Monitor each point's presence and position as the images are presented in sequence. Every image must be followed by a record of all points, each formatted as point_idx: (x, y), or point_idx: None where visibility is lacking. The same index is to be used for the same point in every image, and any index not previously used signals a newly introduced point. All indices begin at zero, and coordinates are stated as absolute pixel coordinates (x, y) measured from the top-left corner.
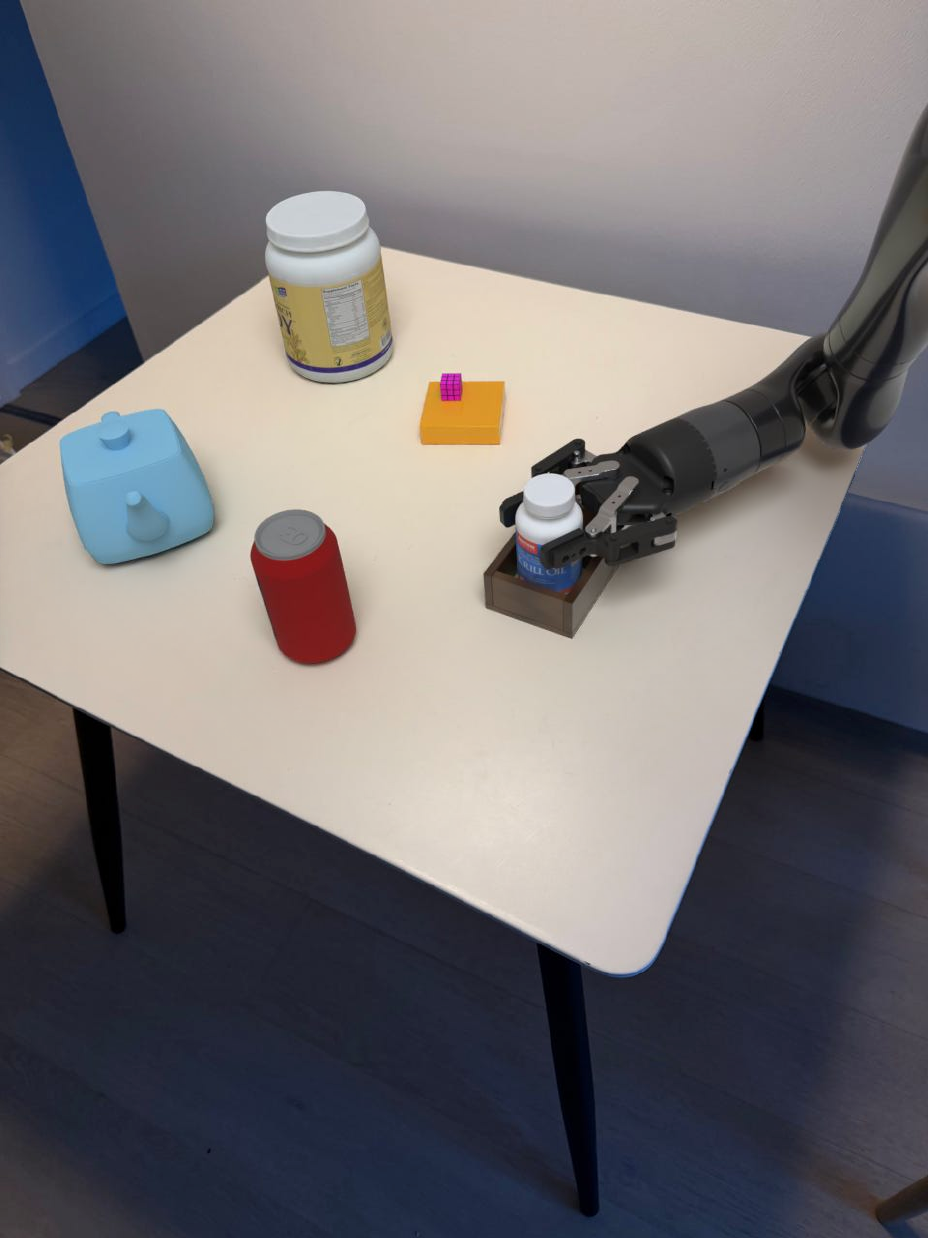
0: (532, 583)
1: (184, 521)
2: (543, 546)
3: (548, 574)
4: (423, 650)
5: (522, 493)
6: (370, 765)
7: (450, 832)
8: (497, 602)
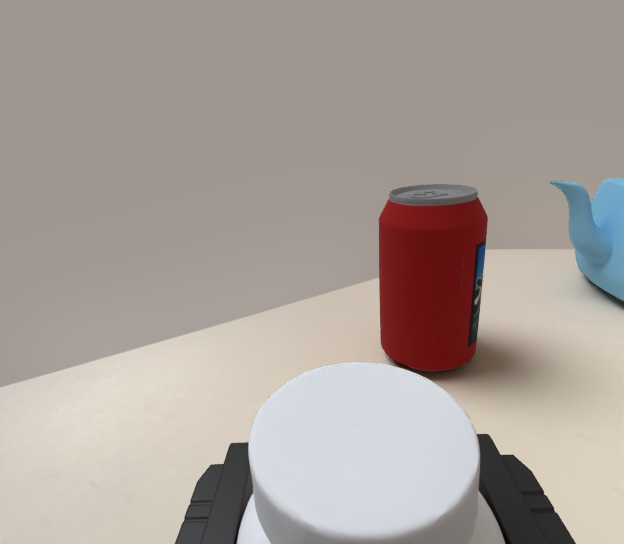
0: None
1: (619, 269)
2: None
3: None
4: None
5: (554, 531)
6: (248, 347)
7: (138, 368)
8: None
